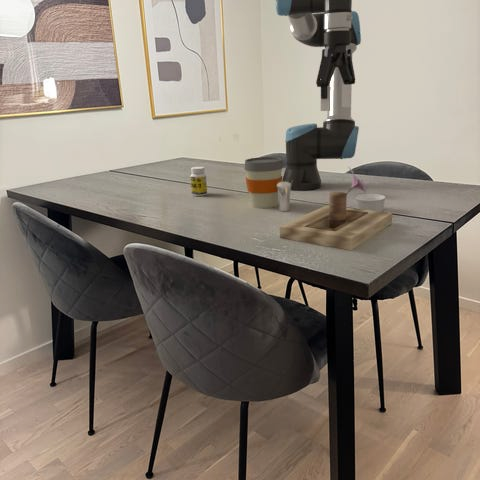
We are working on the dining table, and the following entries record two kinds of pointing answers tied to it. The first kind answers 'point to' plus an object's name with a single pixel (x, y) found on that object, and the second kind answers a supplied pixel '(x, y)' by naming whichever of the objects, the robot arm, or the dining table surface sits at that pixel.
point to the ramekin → (370, 202)
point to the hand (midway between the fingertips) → (336, 108)
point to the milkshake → (284, 195)
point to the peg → (337, 209)
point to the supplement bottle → (198, 181)
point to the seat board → (343, 236)
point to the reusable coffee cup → (263, 180)
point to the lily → (357, 183)
